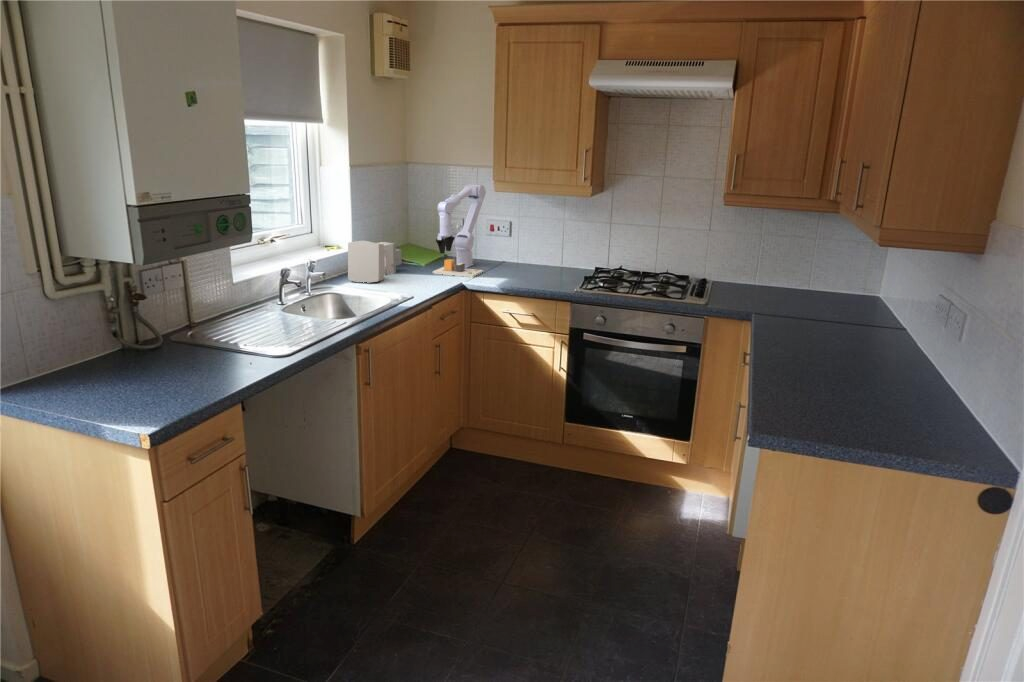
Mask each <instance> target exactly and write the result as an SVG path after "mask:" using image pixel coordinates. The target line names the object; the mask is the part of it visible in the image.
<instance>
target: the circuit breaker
mask: <svg viewBox="0 0 1024 682" xmlns="http://www.w3.org/2000/svg"><path fill="white" fill-rule="evenodd" d="M379 243H382V244H384V276H387V275H386V274H390V275H392V274H391V273H394V274H396V273H397V269H396V268H397V266H400V265H402V264H403V263H402V261H403V259H402V256H403V253H402V249H398V248H396V243H395V242H387V241H381V242H379Z"/></svg>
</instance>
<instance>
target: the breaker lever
mask: <svg viewBox="0 0 1024 682" xmlns="http://www.w3.org/2000/svg"><path fill="white" fill-rule="evenodd" d="M465 269H466V268H465V264H463V263H458V264H457V263H455V271H463V270H465Z"/></svg>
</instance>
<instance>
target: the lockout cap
mask: <svg viewBox="0 0 1024 682" xmlns="http://www.w3.org/2000/svg"><path fill="white" fill-rule="evenodd" d="M455 262H456V260H455V259H450V258H447V259H444V263H443V264H444V265H443V267H444V270H449V271H452V270H454V269H455V265H456V263H455Z"/></svg>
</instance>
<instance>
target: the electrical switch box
mask: <svg viewBox="0 0 1024 682" xmlns="http://www.w3.org/2000/svg"><path fill="white" fill-rule="evenodd" d="M384 278H385V275H384V244H382V243H380V242H372V241H368V240H363V239H362V240H357V241H349V242H348V243H347V279H348V281H351V282H355V283H359V282H363V283H364V282H367V283H366V284H368V283H369V284H370V283H376V282H382V281H383V280H384Z"/></svg>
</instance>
